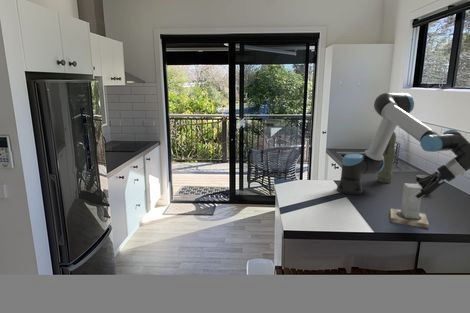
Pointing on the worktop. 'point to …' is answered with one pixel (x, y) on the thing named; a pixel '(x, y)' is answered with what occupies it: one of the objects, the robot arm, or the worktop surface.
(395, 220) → the birch board
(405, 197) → the skincare box
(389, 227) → the worktop surface
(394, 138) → the olive green tapered column
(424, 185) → the coffee mug
